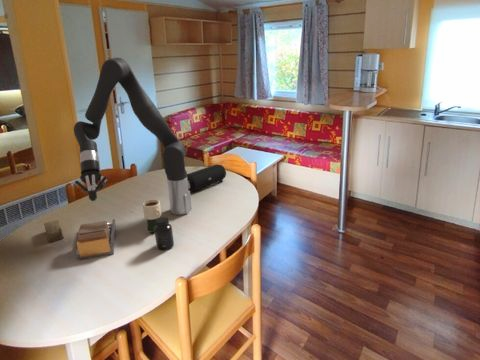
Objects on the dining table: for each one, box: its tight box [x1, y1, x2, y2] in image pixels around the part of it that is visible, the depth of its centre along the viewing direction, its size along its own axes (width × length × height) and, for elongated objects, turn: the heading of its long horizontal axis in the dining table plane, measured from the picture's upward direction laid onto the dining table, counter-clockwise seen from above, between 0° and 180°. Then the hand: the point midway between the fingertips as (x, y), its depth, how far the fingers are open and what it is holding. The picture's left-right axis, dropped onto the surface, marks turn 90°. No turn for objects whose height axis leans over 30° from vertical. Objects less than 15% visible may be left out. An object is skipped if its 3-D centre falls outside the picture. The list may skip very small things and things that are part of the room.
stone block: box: [43, 219, 64, 243], centre depth 147 cm, size 6×12×5 cm, turn 34°
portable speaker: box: [187, 163, 227, 193], centre depth 192 cm, size 26×10×10 cm, turn 135°
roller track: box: [75, 219, 117, 261], centre depth 141 cm, size 24×13×7 cm, turn 16°
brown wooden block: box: [77, 220, 110, 242], centre depth 134 cm, size 8×10×7 cm
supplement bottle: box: [153, 216, 175, 251], centre depth 135 cm, size 7×7×12 cm
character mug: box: [142, 198, 162, 233], centre depth 147 cm, size 11×7×13 cm, turn 47°
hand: (93, 200), depth 142 cm, fingers closed
